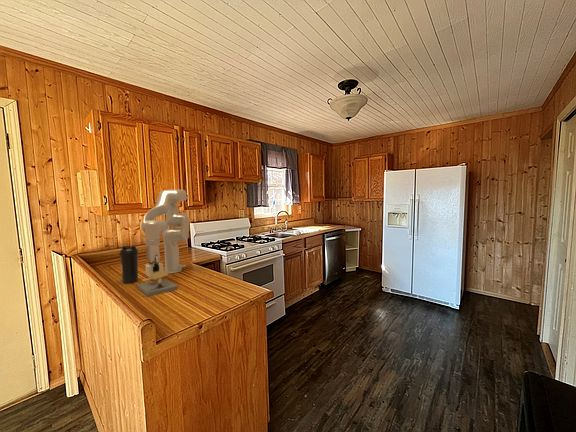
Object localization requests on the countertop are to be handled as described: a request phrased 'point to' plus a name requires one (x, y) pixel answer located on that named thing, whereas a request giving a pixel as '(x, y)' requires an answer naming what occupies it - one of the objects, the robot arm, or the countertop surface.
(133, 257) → the water bottle
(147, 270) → the cream rectangular block
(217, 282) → the countertop surface
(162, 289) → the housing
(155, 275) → the key
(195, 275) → the countertop surface
